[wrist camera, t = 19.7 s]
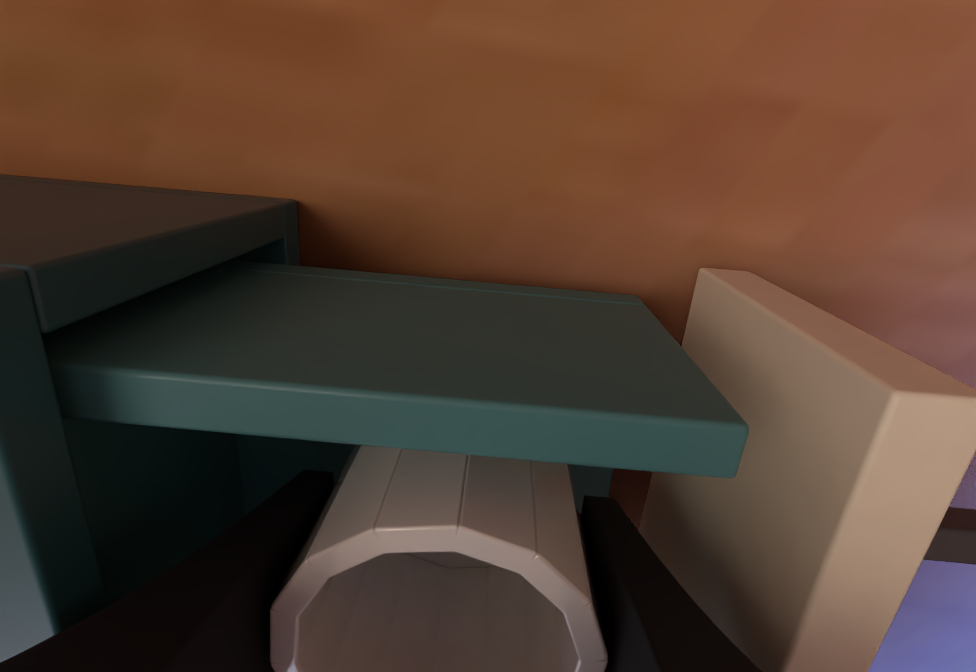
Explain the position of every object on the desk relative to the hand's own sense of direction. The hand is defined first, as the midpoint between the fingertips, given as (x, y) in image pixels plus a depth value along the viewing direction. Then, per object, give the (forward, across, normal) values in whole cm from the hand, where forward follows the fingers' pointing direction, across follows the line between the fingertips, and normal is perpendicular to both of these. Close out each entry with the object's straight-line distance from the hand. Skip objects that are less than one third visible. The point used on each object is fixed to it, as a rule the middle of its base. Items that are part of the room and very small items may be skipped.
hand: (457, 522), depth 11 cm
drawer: (+3, -2, 0) cm, 4 cm away
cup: (+1, 0, 0) cm, 1 cm away
